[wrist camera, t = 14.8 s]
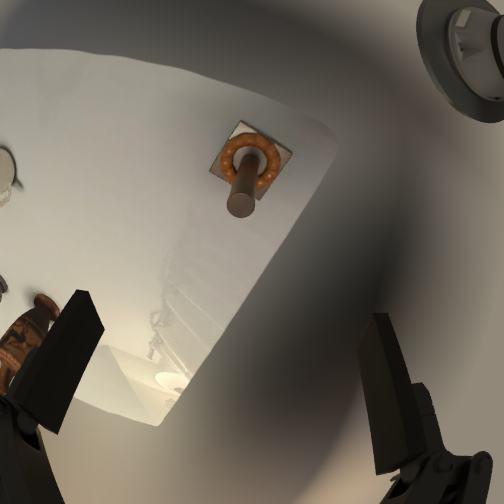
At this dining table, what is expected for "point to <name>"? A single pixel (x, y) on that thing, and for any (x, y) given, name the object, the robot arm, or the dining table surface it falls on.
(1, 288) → the grey rounded figure
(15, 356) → the vase
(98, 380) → the dining table surface
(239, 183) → the peg stand
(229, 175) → the bracelet
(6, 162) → the mug
